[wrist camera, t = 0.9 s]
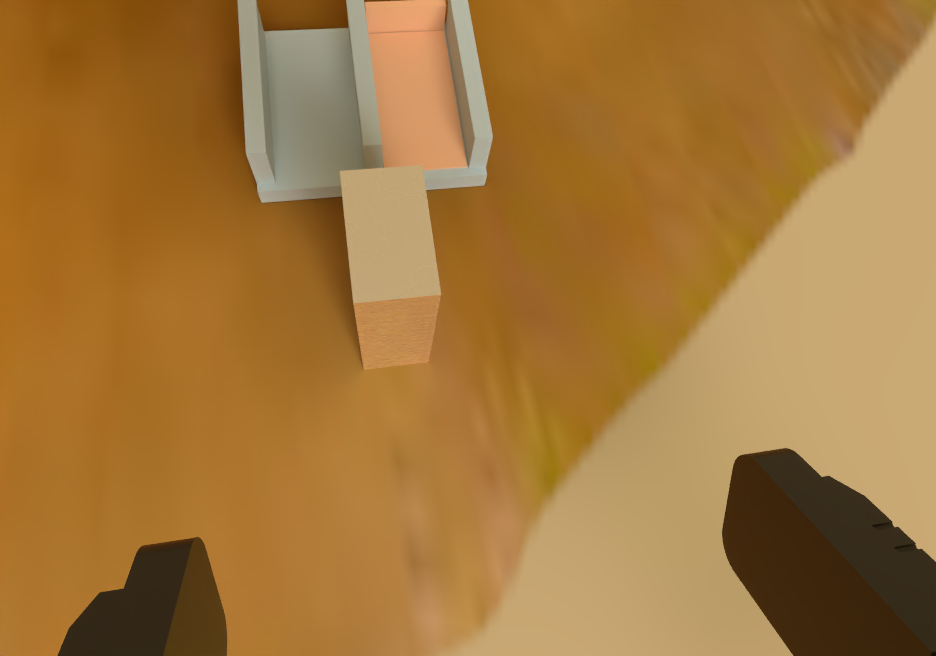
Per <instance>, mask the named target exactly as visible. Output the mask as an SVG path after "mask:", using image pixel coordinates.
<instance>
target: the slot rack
mask: <svg viewBox="0 0 936 656" xmlns="http://www.w3.org/2000/svg"><path fill="white" fill-rule="evenodd" d="M346 4H347V16H348V28H334V29H309V30H285V31H264V30H263V26H262V21H261V17H260V13H259V9H258V5H257V1H256V0H238V17H239V35H240V54H241V72H242V91H243V109H244V127H245V146H246V155H247V158H248V161H249V163H250V166H251V169H252V172H253V174H254V177H255V180H256V182H257V190H258V194H259V197H260V200H261V202H262V203H265V202H278V201H291V200H304V199H317V198H330V197H342V189H341V179H340V171H345V170H359V169H373V168H387V167H401V166H415V165H422V167H423V174H424V181H425V187H426V190H433V189H446V188H459V187H471V186H484V185H485V181H486V177H487V171H486V164H487V160H488V156H489V152H490V147H491V143H492V139H493V135H492V129H491V124H490V119H489V113H488V108H487V102H486V97H485V92H484V86H483V81H482V76H481V70H480V65H479V59H478V54H477V49H476V43H475V38H474V33H473V27H472V22H471V17H470V11H469V6H468V0H448V9H447V19H446V24H444V23H445V13H446V2H445V0H408V1H380V2H365V5H364V0H346Z"/></svg>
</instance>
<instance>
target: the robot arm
mask: <svg viewBox="0 0 936 656" xmlns="http://www.w3.org/2000/svg"><path fill="white" fill-rule="evenodd" d="M722 537H723V545H724V549H725V553H726V556H727V558H728V561H729V563H730V565H731V567H732V569H733V570H734V572H735V573H736V575H737V576H738V578H739V579H740V581H741V582H742V583H743V585H744V586H745V588H746V589H747V591H748V592H749V593H750V595H751V596H752V598H753V599H754V600H755V602H756V603H757V605H758V606H759V607H760V609H761V610H762V612H763V613H764V615H765V616H766V617H767V619H768V620H769V622H770V623H771V624H772V626H773V627H774V629H775V630H776V632H777V633H778V634H779V636H780V637H781V639H782V640H783V642H784V643H785V644H786V646H787V647H788V649H789V650H790V652H791V653H792V654H793V656H936V562H935V561H934V560H933V559H932V558H931V557H930V556H929V555H928V554H927V553H925V552H924V551H923V550H922V549H917V548H916V545H915V542H914V541H913V540H911V539H910V538H909V537H908V536H907V535H906V534H905V533H904V532H903V531H902V530H901V529H900V528H899V527H894V526H893V524H892V521H891V520H890V519H889V518H888V517H887V516H886V515H885V514H883V513H882V512H881V511H880V510H879V509H878V508H877V507H876V506H875V505H874V504H872V502H871V501H870V500H868V499H867V498H866V497H865V496H864V495H862V494H860V493H858V492H856V491H855V490H853V489H851V488H849V487H848V486H846V485H844V484H842V483H841V482H839V481H837V480H835V479H833V478H832V477H830V476H825V477H821V476H820V475H819V474H818V473H817V472H816V471H815V470H814V469H813V468H812V467H811V466H810V465H809V464H808V463H807V462H806V461H805V460H804V459H803V458H801V457H800V456H799V455H798V454H797V453H796V452H795V451H793V450H791V449H787V448H783V449H777V450H771V451H764V452H758V453H752V454H745V455H740V456H739V457H737V459H736V460H735V463H734V465H733V471H732V476H731V482H730V488H729V494H728V499H727V506H726V512H725V517H724V523H723V529H722ZM226 655H227V629H226V620H225V614H224V610H223V607H222V603H221V600H220V596H219V593H218V590H217V586H216V583H215V579H214V576H213V572H212V569H211V565H210V562H209V558H208V555H207V551H206V548H205V545H204V543H203V541H202V540H201V539H200V538H199V537H196V538H190V539H183V540H177V541H170V542H164V543H157V544H151V545H144V546H142V547H140V548H139V550H138V551H137V553H136V556H135V558H134V561H133V564H132V567H131V570H130V572H129V575H128V578H127V581H126V584H125V586H124V589H119V590H113V591H106V592H100V593H99V594H98V595H97V596H96V597H95V599H94V600H93V601H92V602H91V603H90V604H89V606H88V607H87V608H86V609H85V610H84V611H83V613H82V614H81V615H80V616H79V617H78V618H77V620H76V621H75V622H74V623H73V624H72V625H71V627H70V628H69V630H68V632H67V634H66V637H65V639H64V642H63V644H62V646H61V649H60V651H59V653H58V656H226Z"/></svg>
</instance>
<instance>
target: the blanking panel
mask: <svg viewBox="0 0 936 656" xmlns="http://www.w3.org/2000/svg"><path fill="white" fill-rule="evenodd" d="M340 179H341V189H342V199H343V209H344V218H345V228H346V238H347V247H348V257H349V267H350V277H351V286H352V296H353V305H354V311H355V318H356V324H357V330H358V337H359V343H360V349H361V356H362V362H363V368H364V370H366V369H374V368H383V367H392V366H400V365H409V364H418V363H426V362H429V357H430V352H431V347H432V341H433V336H434V331H435V325H436V320H437V314H438V309H439V304H440V298H441V290H440V283H439V276H438V269H437V263H436V256H435V249H434V242H433V235H432V228H431V222H430V215H429V208H428V201H427V194H426V187H425V181H424V174H423V167H422V165H415V166H401V167H387V168H373V169H359V170H345V171H340Z"/></svg>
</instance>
